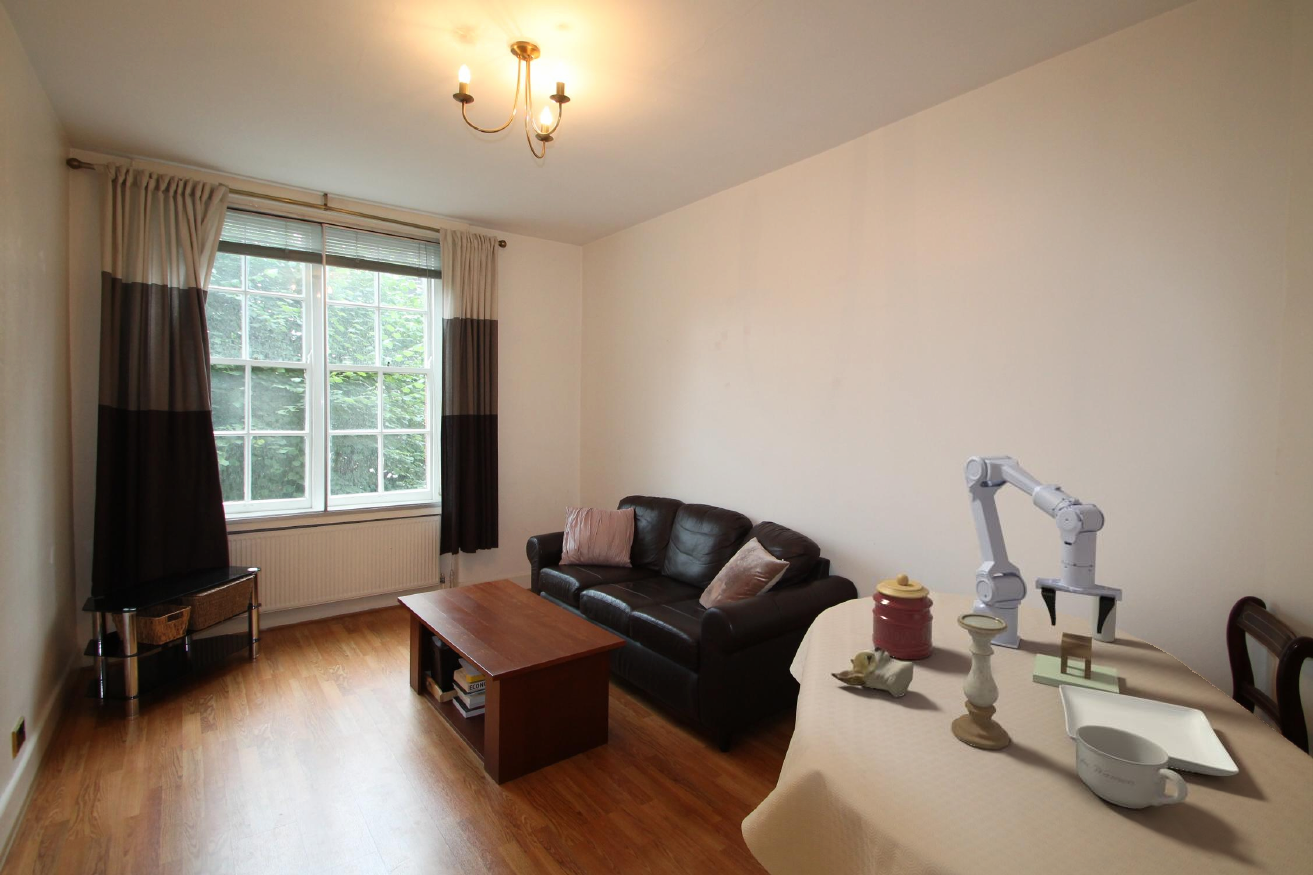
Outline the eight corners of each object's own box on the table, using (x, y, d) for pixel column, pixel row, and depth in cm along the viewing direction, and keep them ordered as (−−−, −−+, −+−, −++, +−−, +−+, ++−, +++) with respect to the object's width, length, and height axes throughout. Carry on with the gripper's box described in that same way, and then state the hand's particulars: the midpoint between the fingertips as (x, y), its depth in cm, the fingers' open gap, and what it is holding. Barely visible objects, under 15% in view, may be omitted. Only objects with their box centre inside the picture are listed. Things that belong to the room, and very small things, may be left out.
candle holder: (987, 755, 99) (990, 634, 98) (940, 729, 107) (942, 617, 105) (1020, 741, 103) (1023, 624, 102) (972, 717, 111) (974, 608, 109)
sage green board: (1032, 681, 124) (1032, 674, 124) (1036, 660, 134) (1037, 653, 134) (1118, 700, 116) (1119, 692, 116) (1116, 676, 126) (1116, 669, 126)
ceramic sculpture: (902, 663, 113) (828, 646, 123) (904, 709, 113) (830, 689, 124) (922, 646, 121) (850, 632, 131) (924, 689, 121) (852, 671, 131)
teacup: (1057, 773, 94) (1058, 724, 93) (1122, 769, 95) (1124, 719, 94) (1135, 839, 80) (1137, 780, 80) (1210, 833, 81) (1213, 775, 81)
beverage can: (1106, 635, 147) (1108, 586, 146) (1120, 643, 142) (1121, 592, 141) (1085, 634, 147) (1087, 586, 147) (1098, 642, 143) (1099, 592, 142)
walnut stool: (1060, 673, 124) (1061, 639, 124) (1061, 664, 128) (1062, 631, 128) (1090, 679, 121) (1091, 645, 121) (1090, 670, 125) (1092, 637, 125)
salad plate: (1057, 698, 118) (1058, 680, 118) (1201, 726, 107) (1202, 707, 107) (1067, 754, 100) (1067, 734, 99) (1241, 795, 89) (1242, 772, 89)
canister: (936, 644, 143) (937, 571, 142) (927, 665, 132) (928, 586, 131) (878, 633, 150) (879, 563, 149) (865, 653, 139) (866, 577, 138)
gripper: (1034, 562, 125) (1033, 626, 126) (1123, 573, 117) (1120, 642, 118) (1037, 554, 131) (1035, 616, 132) (1122, 565, 122) (1119, 630, 123)
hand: (1075, 628), depth 125 cm, fingers open, 7 cm apart
